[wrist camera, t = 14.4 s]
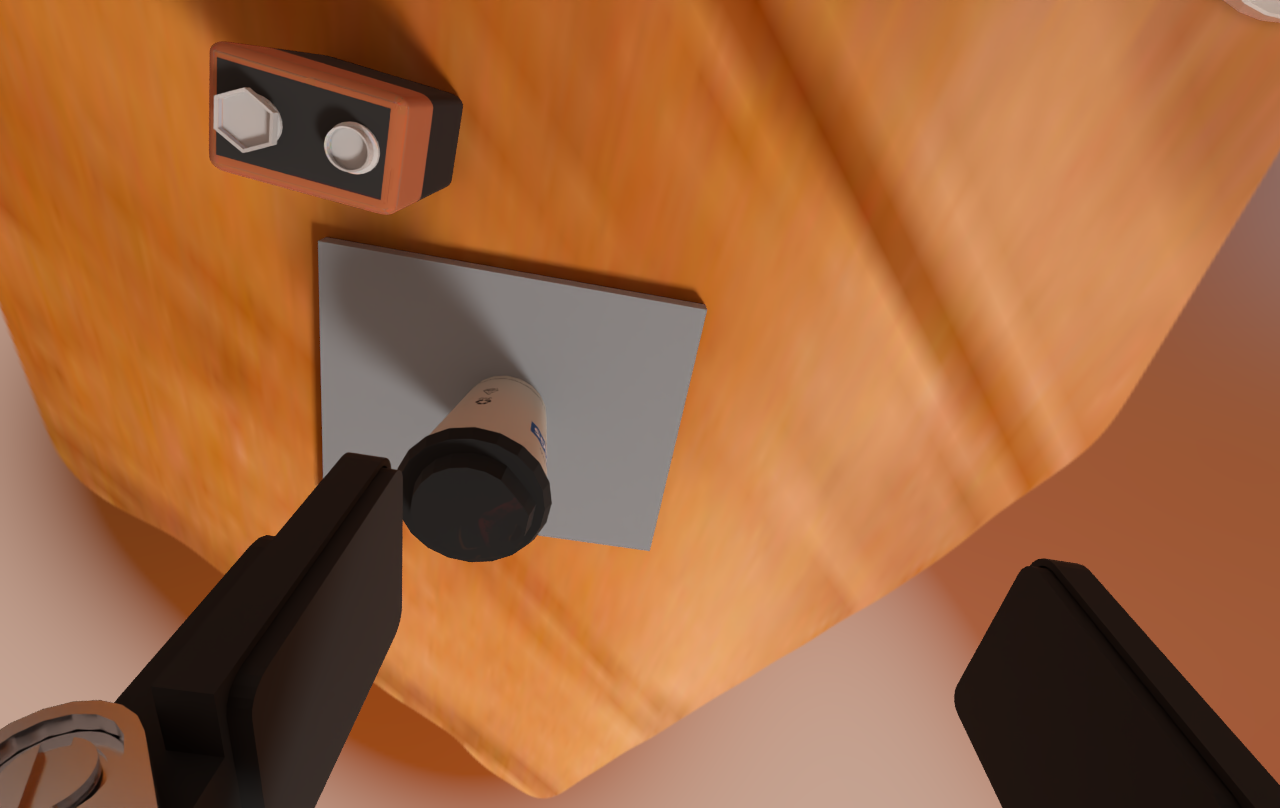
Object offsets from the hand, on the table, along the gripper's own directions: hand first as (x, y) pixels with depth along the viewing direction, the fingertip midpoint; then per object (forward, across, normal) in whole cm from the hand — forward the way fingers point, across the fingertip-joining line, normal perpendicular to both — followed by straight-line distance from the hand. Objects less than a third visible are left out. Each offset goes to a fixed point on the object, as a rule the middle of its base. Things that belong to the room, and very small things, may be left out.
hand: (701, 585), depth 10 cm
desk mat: (+26, +7, +12) cm, 29 cm away
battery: (+26, +14, -3) cm, 30 cm away
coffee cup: (+25, +7, +11) cm, 29 cm away
